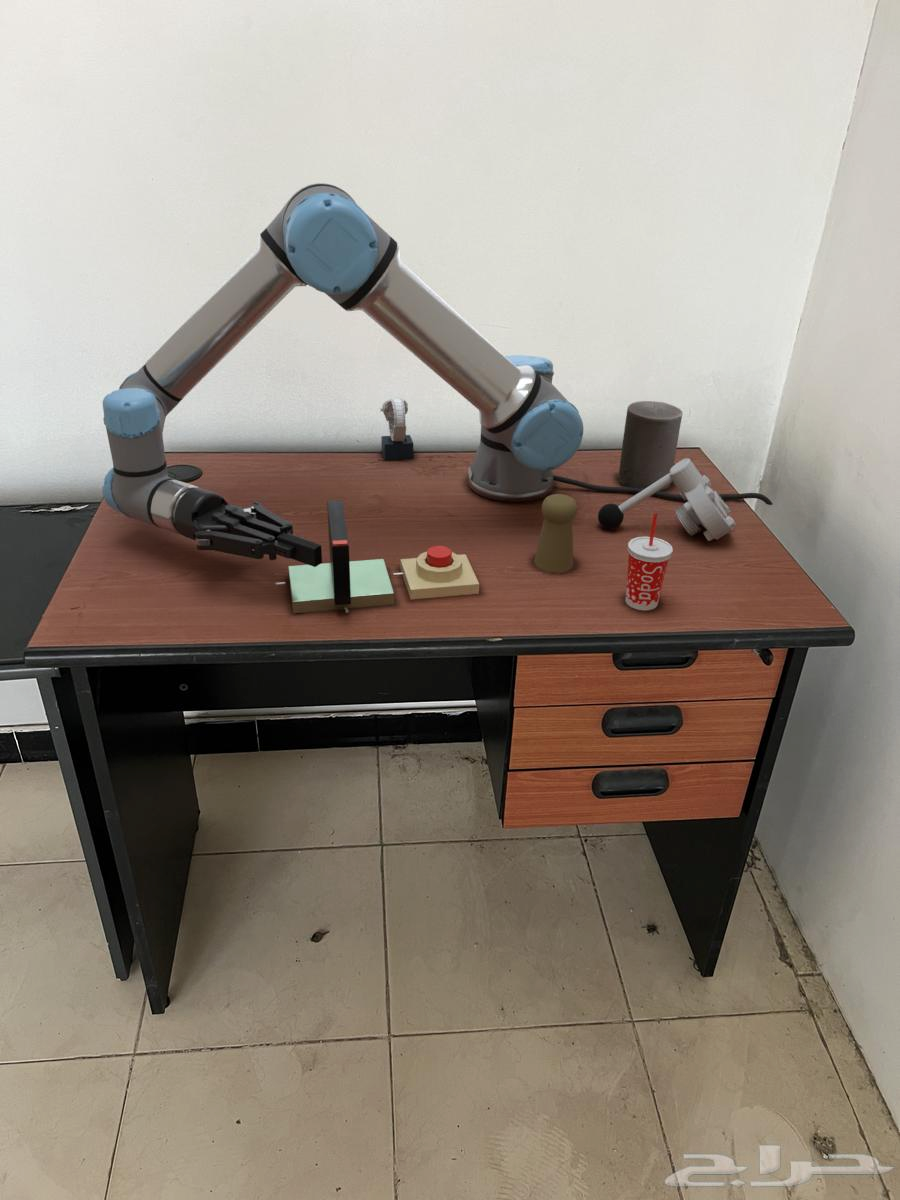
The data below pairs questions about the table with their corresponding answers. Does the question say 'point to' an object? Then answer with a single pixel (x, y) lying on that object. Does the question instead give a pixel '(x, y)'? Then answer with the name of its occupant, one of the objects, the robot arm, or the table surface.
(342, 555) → the black panel
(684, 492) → the mechanical valve
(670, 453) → the pillar candle
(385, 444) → the watch
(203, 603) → the table surface
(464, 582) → the button box
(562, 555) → the olive pawn
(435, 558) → the red push button
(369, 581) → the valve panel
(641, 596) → the beverage cup
